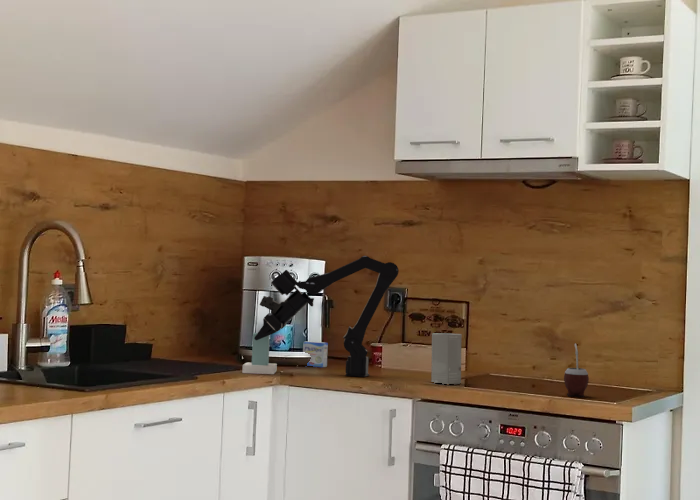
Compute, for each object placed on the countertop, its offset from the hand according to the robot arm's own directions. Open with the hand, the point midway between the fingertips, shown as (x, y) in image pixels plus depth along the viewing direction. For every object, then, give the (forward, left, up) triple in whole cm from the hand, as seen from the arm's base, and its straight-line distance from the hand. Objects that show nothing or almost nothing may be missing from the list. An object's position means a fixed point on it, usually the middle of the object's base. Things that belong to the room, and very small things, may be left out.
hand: (256, 338), depth 320 cm
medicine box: (-10, -31, -11) cm, 34 cm away
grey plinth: (-1, 0, -11) cm, 11 cm away
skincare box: (-62, -4, -11) cm, 63 cm away
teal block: (-1, 0, -8) cm, 8 cm away
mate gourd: (-102, +5, -11) cm, 103 cm away
